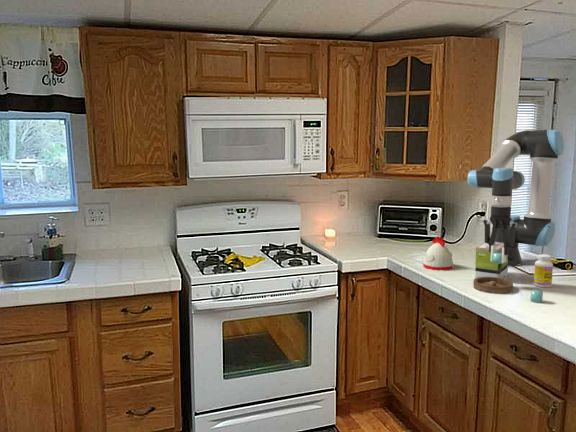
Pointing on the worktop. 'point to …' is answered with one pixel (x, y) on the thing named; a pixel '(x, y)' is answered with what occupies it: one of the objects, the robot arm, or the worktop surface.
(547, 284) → the supplement bottle
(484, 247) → the tea box
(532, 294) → the teal bead
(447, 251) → the kitchen timer
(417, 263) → the worktop surface
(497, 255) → the teal bead
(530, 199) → the robot arm
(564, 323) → the worktop surface
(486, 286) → the walnut tray
